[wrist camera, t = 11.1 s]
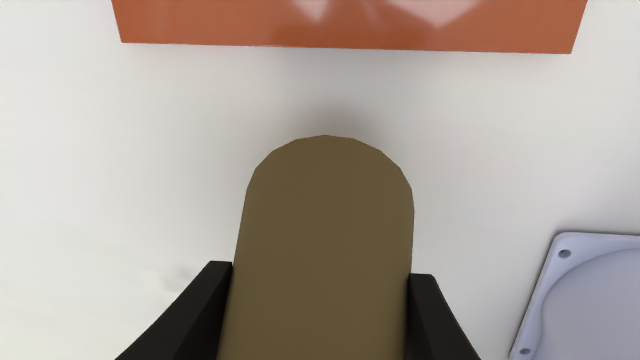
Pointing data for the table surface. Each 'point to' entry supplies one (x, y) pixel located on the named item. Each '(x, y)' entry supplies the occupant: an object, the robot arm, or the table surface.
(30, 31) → the table surface
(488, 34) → the tile
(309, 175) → the cork
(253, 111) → the table surface
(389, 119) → the table surface
